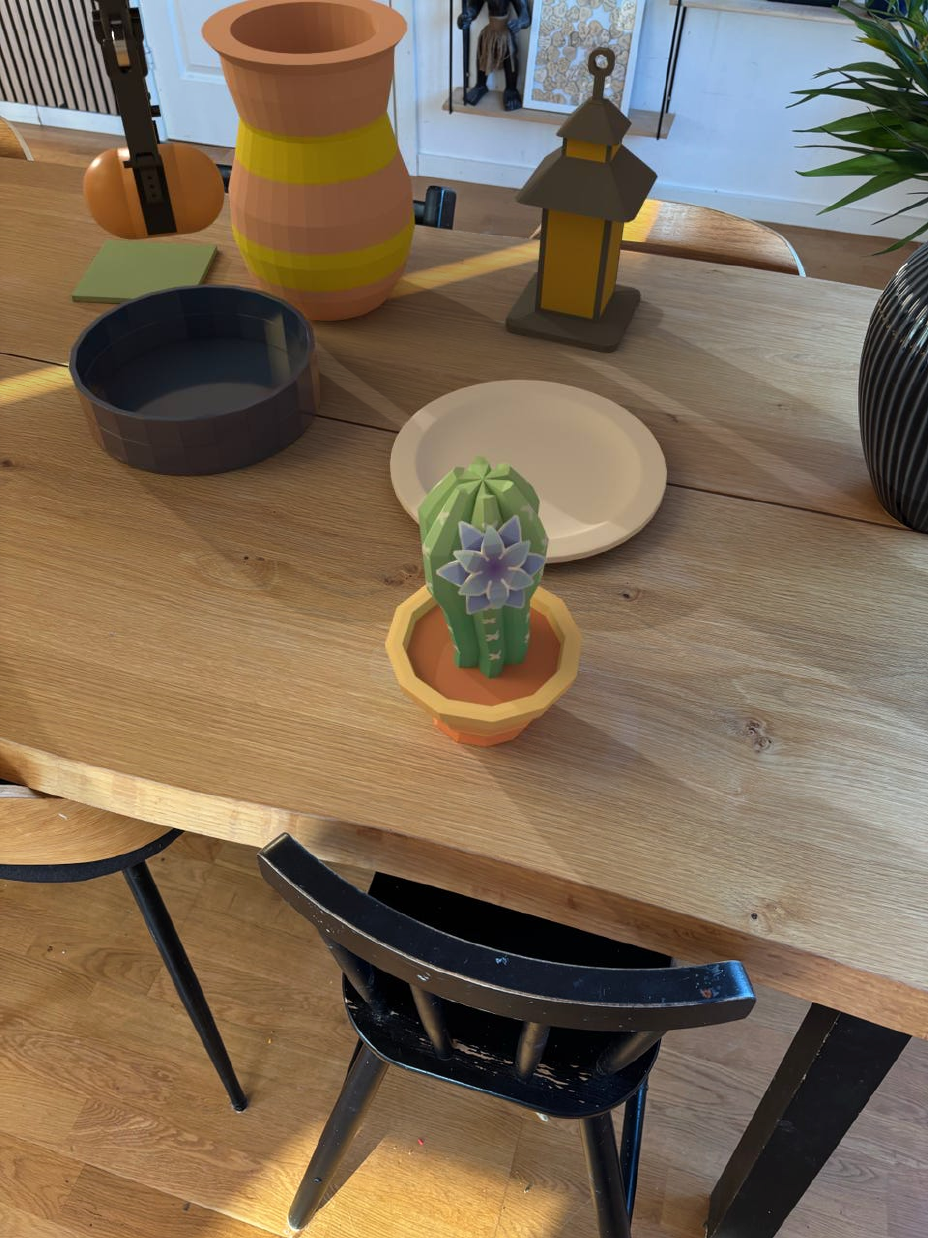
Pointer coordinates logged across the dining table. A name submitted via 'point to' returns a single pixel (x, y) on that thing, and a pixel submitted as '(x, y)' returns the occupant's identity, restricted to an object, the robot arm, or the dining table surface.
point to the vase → (316, 151)
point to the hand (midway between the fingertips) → (159, 210)
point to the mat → (142, 270)
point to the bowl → (197, 378)
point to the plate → (541, 458)
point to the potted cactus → (483, 611)
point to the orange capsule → (188, 183)
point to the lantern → (583, 227)
